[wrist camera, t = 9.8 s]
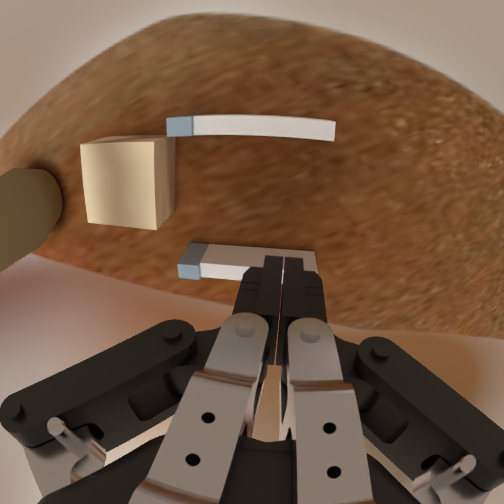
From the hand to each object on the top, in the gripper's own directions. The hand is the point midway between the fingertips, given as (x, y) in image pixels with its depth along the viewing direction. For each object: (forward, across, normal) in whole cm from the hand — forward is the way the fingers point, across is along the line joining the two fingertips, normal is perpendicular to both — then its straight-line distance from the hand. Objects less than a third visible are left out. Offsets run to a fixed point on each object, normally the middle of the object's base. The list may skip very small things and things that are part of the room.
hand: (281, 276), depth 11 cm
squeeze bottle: (+10, +24, 0) cm, 26 cm away
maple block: (+10, +11, -2) cm, 16 cm away
